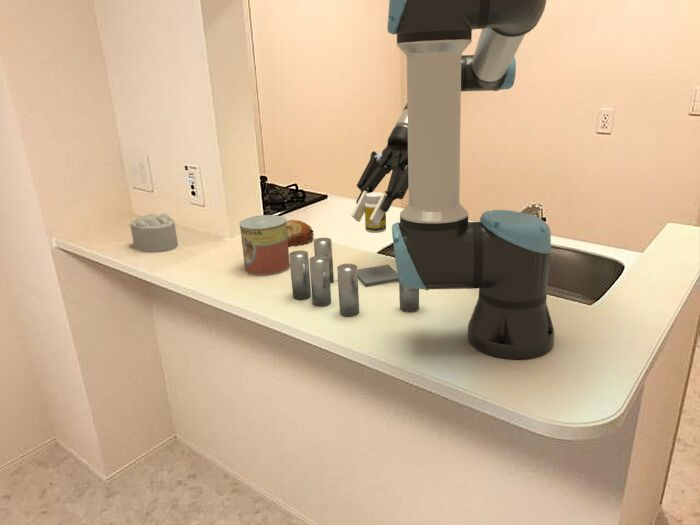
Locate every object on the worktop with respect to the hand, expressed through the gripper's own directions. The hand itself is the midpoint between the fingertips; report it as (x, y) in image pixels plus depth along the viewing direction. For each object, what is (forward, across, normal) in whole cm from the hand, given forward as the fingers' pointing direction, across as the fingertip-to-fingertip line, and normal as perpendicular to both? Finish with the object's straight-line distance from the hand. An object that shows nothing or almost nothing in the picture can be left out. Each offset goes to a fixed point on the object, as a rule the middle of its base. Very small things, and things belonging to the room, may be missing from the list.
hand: (364, 220), depth 133 cm
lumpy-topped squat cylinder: (+21, +65, 0) cm, 69 cm away
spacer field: (+16, -2, -4) cm, 17 cm away
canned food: (+16, +26, -5) cm, 31 cm away
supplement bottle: (0, 0, -5) cm, 5 cm away
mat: (+8, 0, -13) cm, 15 cm away
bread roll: (+3, +36, -18) cm, 40 cm away
